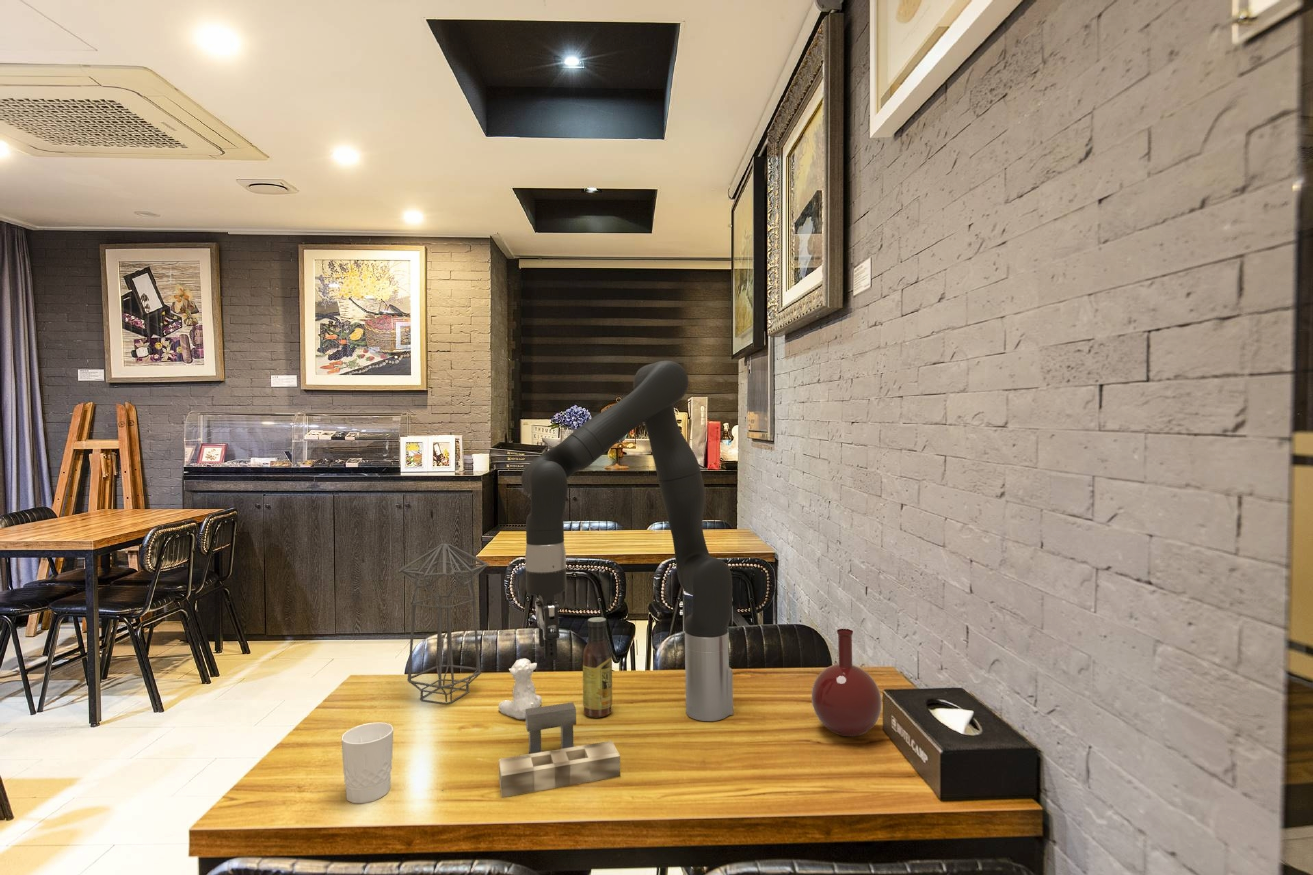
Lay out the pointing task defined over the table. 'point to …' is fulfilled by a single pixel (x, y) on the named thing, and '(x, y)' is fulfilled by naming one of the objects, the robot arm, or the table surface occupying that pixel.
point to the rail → (558, 768)
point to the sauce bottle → (597, 671)
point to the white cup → (367, 761)
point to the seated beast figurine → (521, 691)
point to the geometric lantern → (406, 573)
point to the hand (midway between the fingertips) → (547, 652)
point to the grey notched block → (550, 724)
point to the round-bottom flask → (846, 694)
